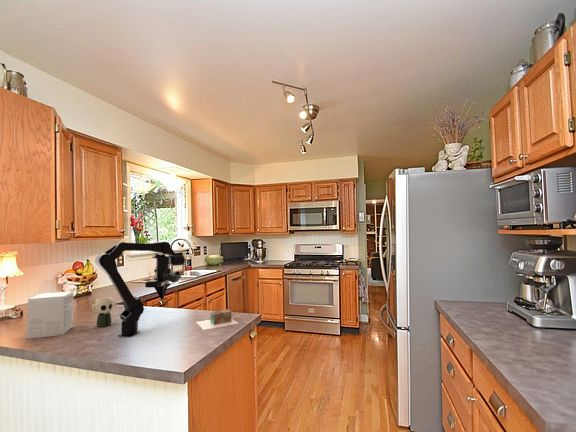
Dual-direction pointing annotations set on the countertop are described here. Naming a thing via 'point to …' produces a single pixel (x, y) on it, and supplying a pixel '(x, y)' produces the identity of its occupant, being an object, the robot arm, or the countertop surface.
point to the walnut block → (220, 317)
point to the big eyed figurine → (104, 310)
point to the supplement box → (49, 314)
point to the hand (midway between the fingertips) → (162, 299)
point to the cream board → (209, 325)
